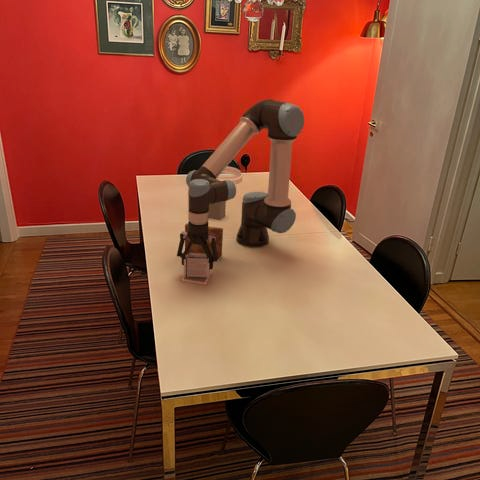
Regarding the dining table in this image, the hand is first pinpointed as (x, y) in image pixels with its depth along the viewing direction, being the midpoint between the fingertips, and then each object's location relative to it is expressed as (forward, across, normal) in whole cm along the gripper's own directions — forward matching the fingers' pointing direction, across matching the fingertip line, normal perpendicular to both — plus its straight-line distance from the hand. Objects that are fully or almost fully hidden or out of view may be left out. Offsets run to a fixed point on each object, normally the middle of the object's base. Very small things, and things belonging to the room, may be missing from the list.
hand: (197, 274), depth 184 cm
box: (+1, 0, 0) cm, 1 cm away
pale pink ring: (+2, +21, -128) cm, 130 cm away
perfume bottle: (+2, +8, -64) cm, 64 cm away
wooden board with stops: (+1, +3, -20) cm, 20 cm away
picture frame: (+1, 0, 0) cm, 1 cm away
